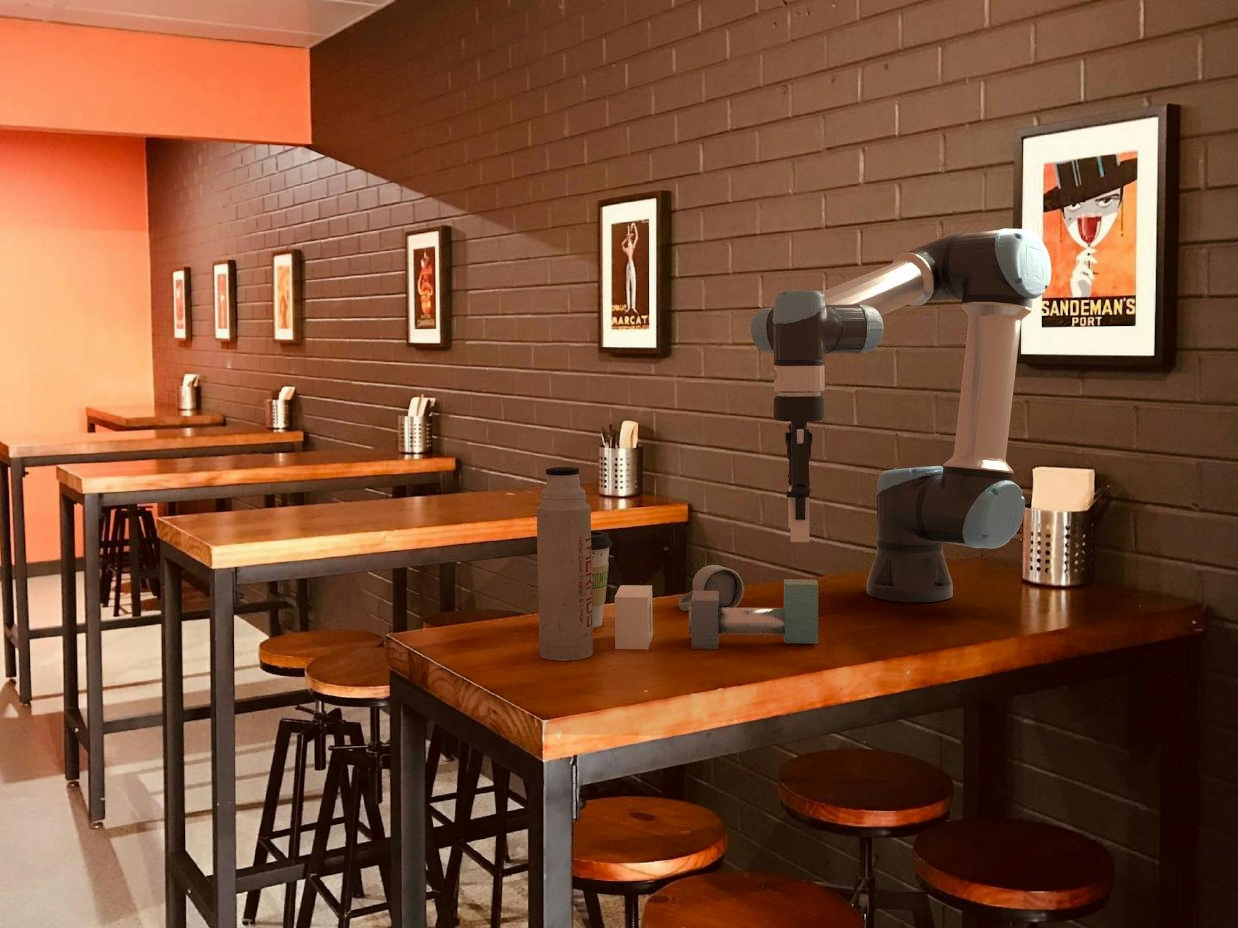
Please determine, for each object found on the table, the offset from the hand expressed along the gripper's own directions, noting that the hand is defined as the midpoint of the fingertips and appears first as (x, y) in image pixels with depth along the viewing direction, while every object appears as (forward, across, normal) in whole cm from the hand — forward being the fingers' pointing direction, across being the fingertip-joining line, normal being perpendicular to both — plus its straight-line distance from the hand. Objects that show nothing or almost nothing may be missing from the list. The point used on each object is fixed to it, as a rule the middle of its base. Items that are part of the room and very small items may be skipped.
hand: (798, 534), depth 192 cm
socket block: (+17, 0, -25) cm, 30 cm away
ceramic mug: (+17, -24, -14) cm, 33 cm away
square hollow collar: (+17, 0, -14) cm, 22 cm away
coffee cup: (+17, -12, -35) cm, 40 cm away
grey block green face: (+16, 0, -7) cm, 18 cm away
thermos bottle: (+17, +8, -34) cm, 39 cm away
